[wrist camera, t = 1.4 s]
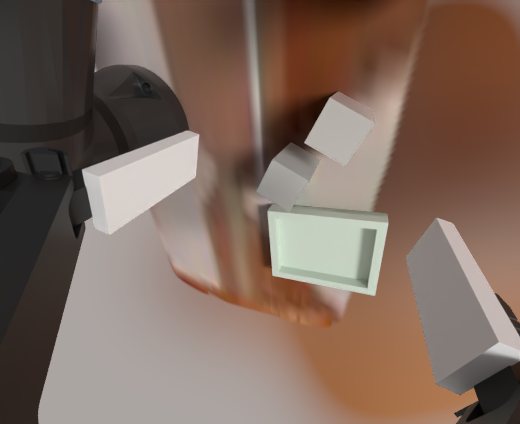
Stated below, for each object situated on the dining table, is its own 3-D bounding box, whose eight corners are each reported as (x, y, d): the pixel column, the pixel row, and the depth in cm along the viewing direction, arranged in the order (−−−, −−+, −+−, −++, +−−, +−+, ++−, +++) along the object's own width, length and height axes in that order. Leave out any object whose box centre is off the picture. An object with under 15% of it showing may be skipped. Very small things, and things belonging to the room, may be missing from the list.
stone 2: (317, 127, 27) (304, 142, 21) (338, 91, 25) (329, 97, 19) (349, 146, 27) (344, 166, 21) (373, 111, 24) (375, 123, 19)
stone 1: (276, 169, 31) (256, 191, 25) (291, 142, 29) (272, 159, 23) (303, 186, 31) (289, 212, 25) (320, 159, 28) (309, 181, 23)
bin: (277, 266, 39) (272, 275, 37) (272, 203, 34) (267, 210, 32) (374, 283, 34) (374, 295, 32) (387, 213, 29) (388, 223, 27)
